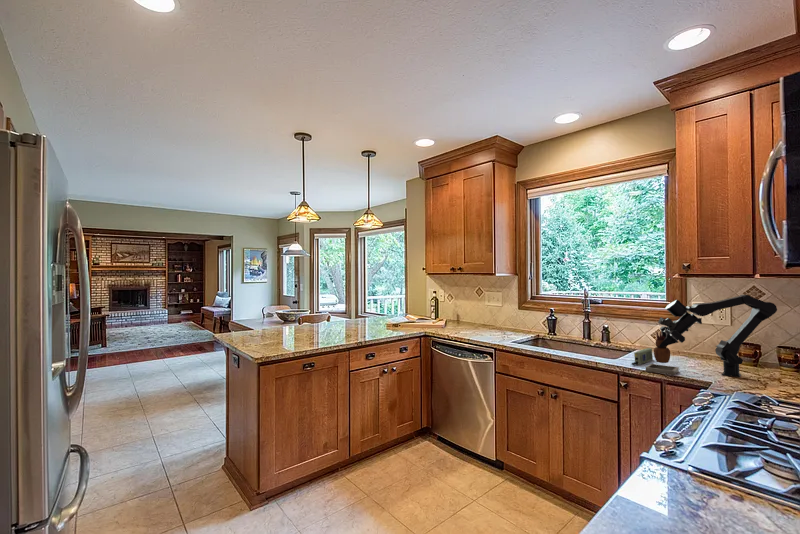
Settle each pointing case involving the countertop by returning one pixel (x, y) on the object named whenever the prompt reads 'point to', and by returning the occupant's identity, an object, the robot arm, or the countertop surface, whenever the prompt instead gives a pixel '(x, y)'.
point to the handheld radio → (643, 356)
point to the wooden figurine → (661, 351)
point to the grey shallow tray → (662, 369)
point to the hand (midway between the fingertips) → (658, 345)
